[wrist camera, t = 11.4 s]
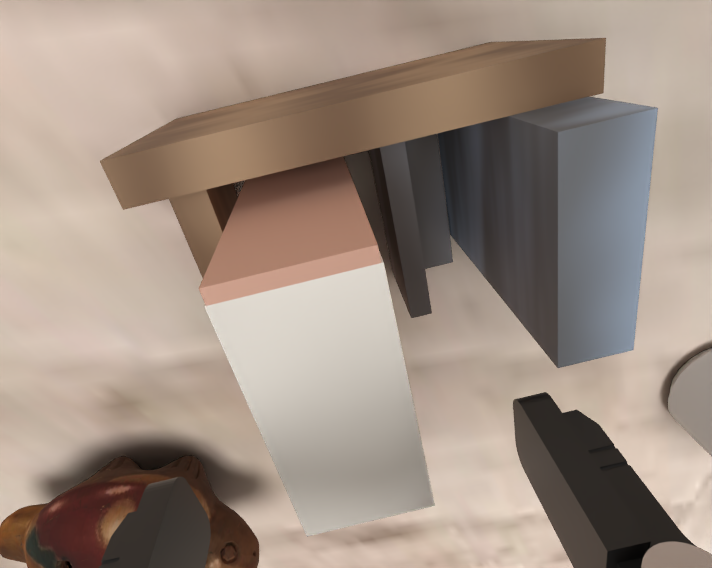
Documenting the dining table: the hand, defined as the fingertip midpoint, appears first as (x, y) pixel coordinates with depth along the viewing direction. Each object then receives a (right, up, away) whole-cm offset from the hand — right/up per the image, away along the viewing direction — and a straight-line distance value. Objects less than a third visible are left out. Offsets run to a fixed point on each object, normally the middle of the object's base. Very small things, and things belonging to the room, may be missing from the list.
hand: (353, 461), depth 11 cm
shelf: (0, +9, +13) cm, 15 cm away
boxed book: (-2, +7, +13) cm, 15 cm away
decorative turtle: (-14, -9, +21) cm, 27 cm away
